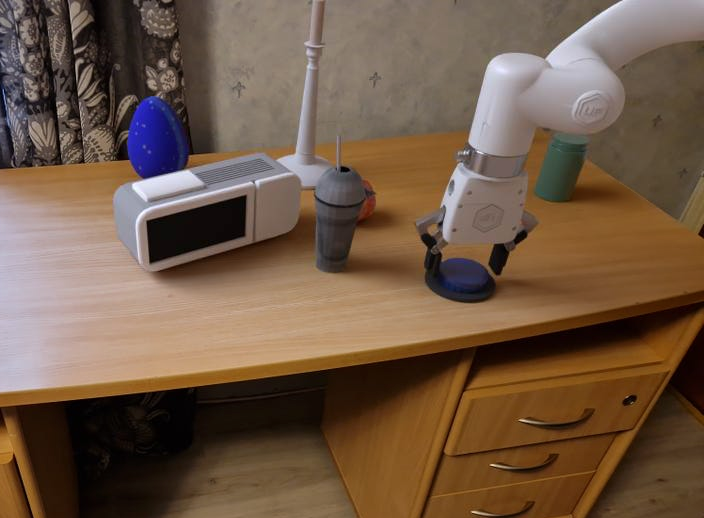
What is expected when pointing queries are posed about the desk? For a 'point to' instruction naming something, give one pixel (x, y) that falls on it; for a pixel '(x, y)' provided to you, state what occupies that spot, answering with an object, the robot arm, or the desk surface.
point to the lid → (463, 275)
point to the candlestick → (310, 111)
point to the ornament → (156, 140)
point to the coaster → (456, 296)
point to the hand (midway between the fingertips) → (462, 271)
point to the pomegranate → (367, 201)
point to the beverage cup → (337, 214)
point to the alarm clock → (206, 210)
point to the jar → (561, 166)
